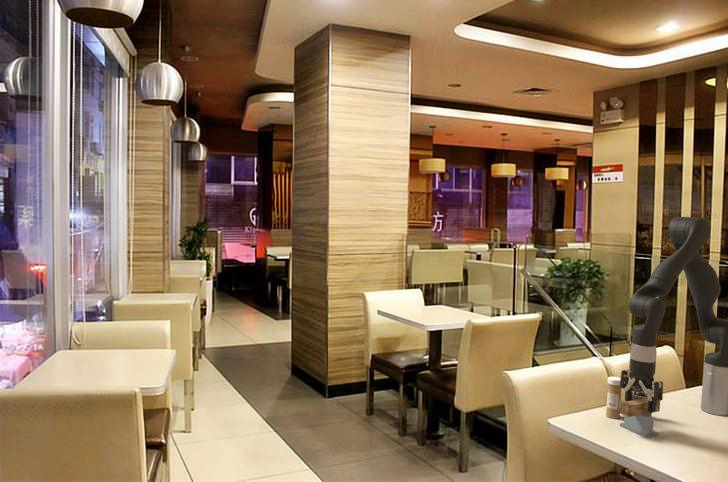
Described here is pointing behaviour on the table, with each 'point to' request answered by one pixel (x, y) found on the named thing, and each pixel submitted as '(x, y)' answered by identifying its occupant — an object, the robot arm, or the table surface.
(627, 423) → the fulcrum
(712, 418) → the table surface
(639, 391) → the lighter
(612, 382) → the sprinkles bottle
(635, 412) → the walnut bar
